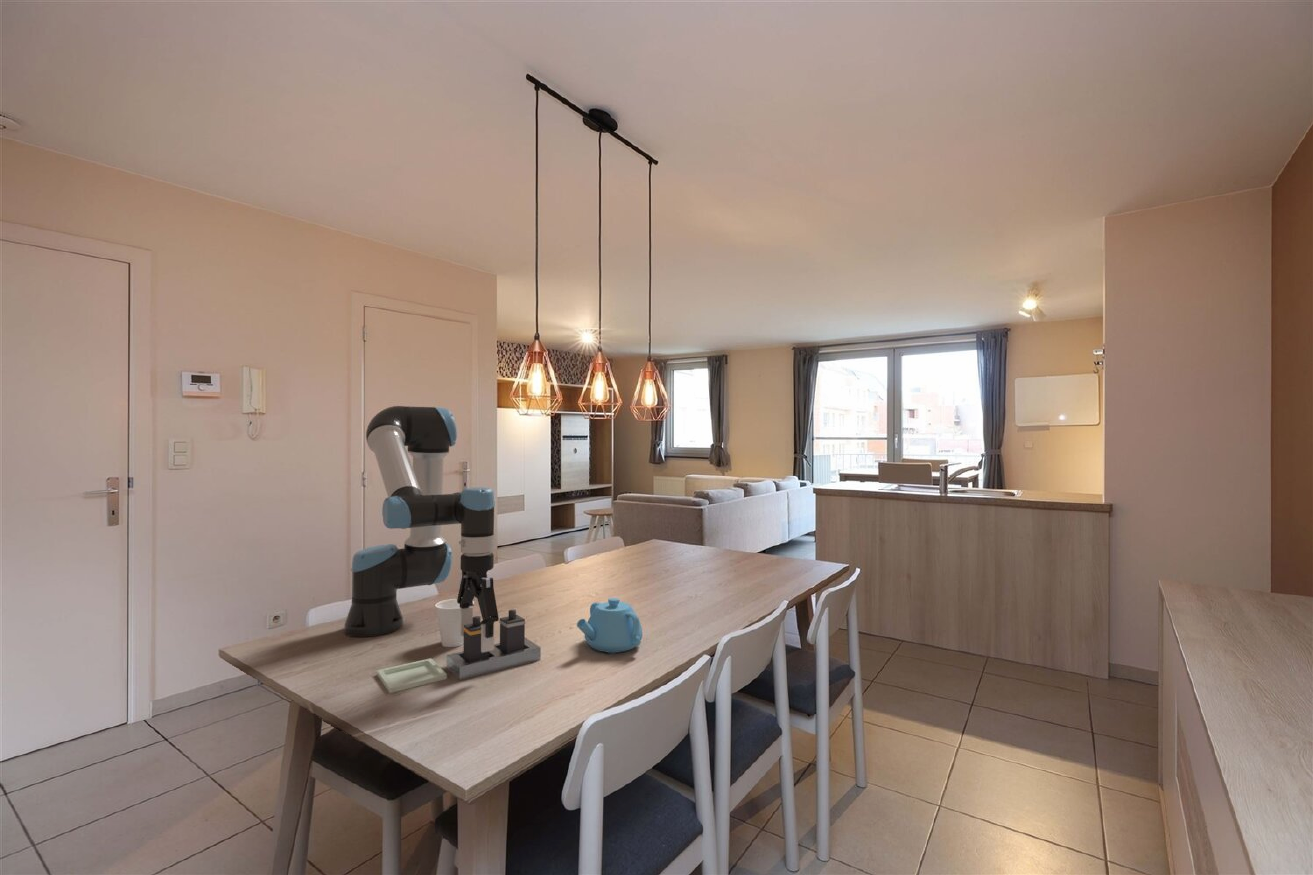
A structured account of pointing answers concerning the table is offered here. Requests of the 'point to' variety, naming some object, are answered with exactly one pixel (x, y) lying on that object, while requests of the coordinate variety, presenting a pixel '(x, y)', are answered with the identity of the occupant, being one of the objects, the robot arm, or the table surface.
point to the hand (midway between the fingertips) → (476, 642)
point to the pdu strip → (492, 661)
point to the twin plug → (512, 633)
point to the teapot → (612, 627)
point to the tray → (411, 675)
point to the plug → (473, 641)
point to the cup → (450, 622)
